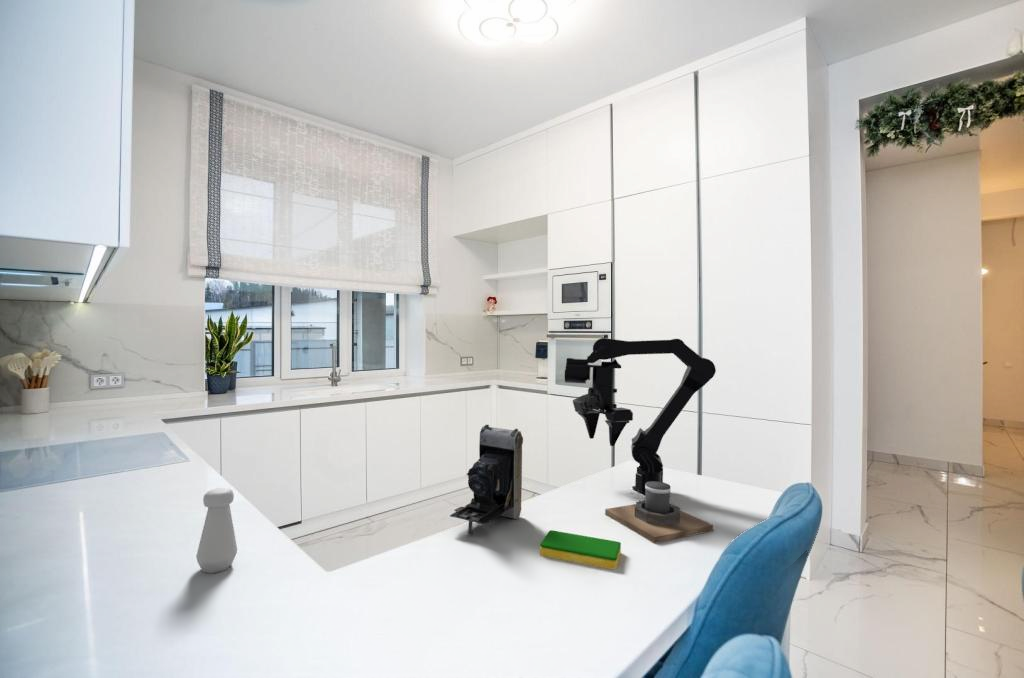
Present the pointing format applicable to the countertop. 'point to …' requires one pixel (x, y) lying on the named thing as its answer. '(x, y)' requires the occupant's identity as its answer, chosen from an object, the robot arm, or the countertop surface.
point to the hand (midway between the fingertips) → (601, 442)
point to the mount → (658, 522)
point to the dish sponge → (581, 549)
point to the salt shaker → (217, 532)
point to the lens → (657, 497)
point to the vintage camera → (495, 478)
